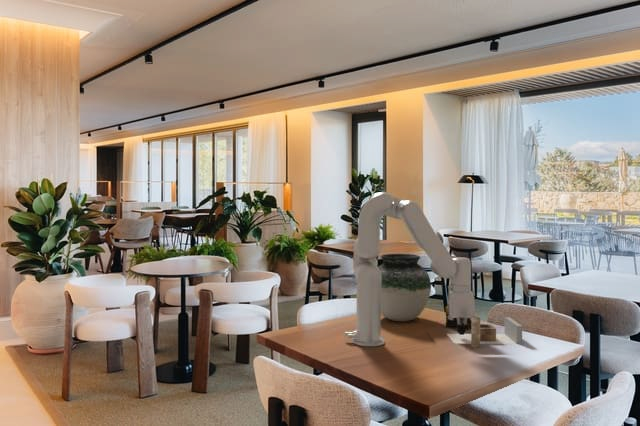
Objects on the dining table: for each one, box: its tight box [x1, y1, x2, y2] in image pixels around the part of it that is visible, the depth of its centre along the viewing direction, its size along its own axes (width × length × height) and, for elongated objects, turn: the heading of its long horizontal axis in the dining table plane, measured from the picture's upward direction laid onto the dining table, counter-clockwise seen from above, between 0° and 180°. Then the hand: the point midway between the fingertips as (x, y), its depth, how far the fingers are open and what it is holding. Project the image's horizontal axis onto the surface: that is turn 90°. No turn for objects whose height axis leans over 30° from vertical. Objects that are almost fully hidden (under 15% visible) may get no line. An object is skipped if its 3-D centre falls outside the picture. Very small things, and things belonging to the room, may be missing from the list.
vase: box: [377, 253, 432, 322], centre depth 243 cm, size 28×28×30 cm
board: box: [446, 316, 523, 345], centre depth 206 cm, size 26×14×8 cm, turn 89°
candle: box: [445, 305, 471, 331], centre depth 226 cm, size 10×10×10 cm
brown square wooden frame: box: [480, 323, 497, 341], centre depth 206 cm, size 8×8×5 cm
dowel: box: [470, 316, 481, 349], centre depth 195 cm, size 3×3×12 cm
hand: (461, 333), depth 207 cm, fingers closed
